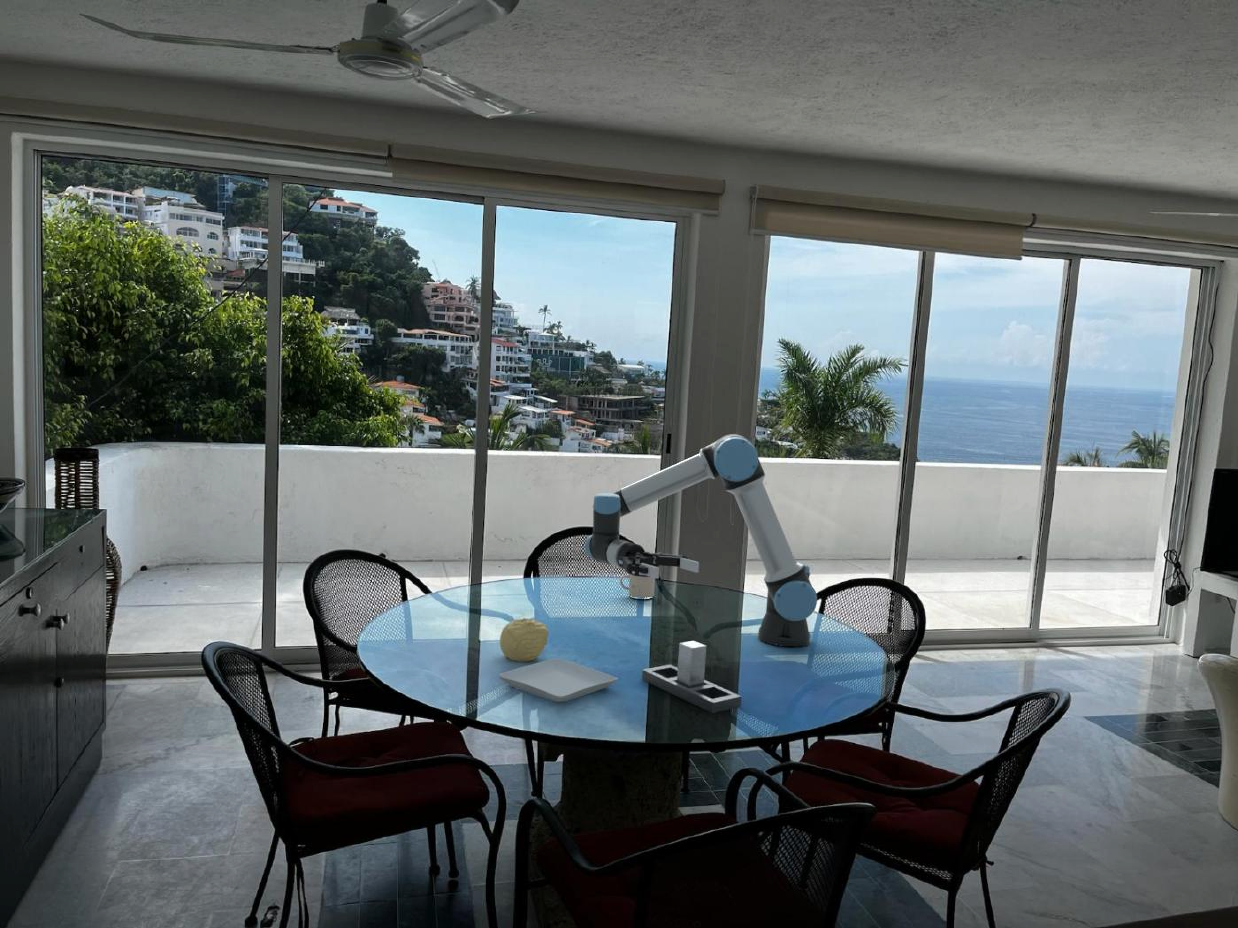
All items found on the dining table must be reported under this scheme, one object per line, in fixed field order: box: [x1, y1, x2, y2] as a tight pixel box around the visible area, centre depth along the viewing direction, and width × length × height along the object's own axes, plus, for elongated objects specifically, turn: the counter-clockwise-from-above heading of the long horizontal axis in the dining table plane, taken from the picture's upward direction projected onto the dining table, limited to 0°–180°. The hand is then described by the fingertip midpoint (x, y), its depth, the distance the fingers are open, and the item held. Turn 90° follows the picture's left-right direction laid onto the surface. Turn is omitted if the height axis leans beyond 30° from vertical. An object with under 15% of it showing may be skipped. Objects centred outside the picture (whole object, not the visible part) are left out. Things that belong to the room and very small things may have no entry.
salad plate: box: [497, 657, 619, 703], centre depth 228 cm, size 21×21×3 cm
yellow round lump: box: [499, 617, 549, 663], centre depth 249 cm, size 11×12×11 cm
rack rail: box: [641, 664, 742, 714], centre depth 230 cm, size 9×26×2 cm, turn 37°
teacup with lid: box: [619, 572, 656, 598], centre depth 321 cm, size 12×9×12 cm
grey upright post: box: [677, 640, 707, 688], centre depth 230 cm, size 5×5×12 cm
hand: (678, 570), depth 244 cm, fingers open, 13 cm apart
